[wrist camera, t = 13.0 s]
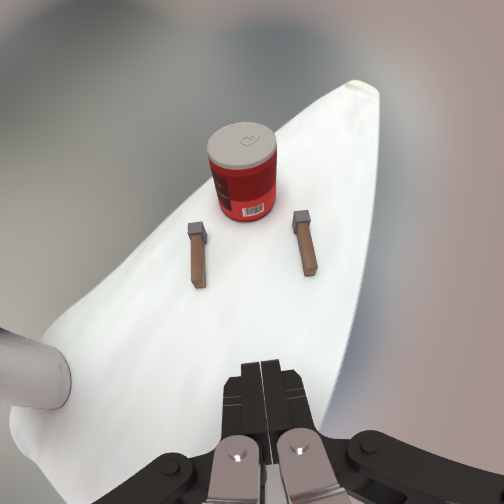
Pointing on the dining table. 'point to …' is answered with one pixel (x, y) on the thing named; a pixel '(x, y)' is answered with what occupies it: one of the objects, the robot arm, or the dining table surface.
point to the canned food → (244, 169)
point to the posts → (297, 218)
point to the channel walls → (304, 246)
